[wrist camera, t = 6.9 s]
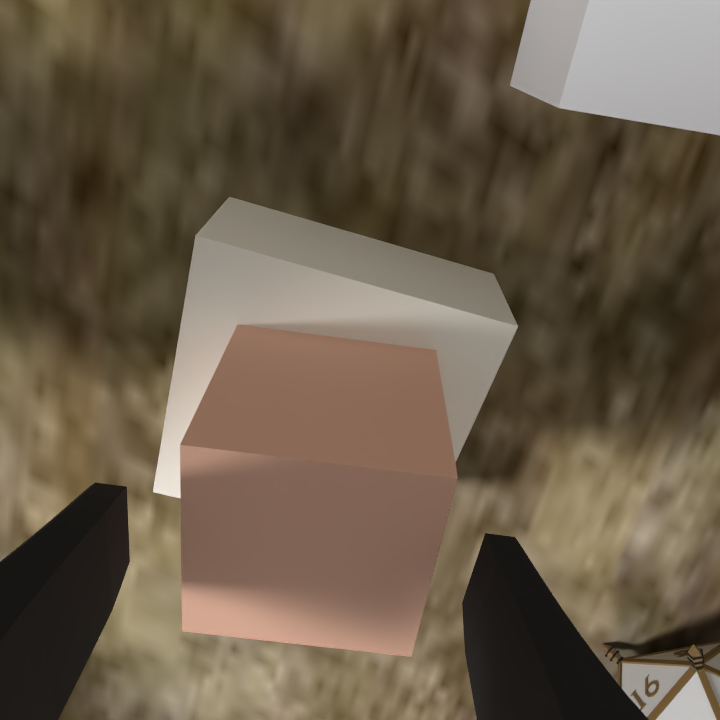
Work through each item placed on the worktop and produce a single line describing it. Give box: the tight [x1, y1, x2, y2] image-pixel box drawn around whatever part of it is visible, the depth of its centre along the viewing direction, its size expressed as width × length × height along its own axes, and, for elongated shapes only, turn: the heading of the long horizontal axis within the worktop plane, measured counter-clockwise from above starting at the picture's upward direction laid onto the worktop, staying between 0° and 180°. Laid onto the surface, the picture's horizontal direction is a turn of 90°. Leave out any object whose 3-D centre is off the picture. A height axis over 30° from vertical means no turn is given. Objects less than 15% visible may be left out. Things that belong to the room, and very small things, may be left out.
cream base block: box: [153, 197, 518, 498], centre depth 18 cm, size 8×8×4 cm
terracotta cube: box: [180, 325, 458, 657], centre depth 14 cm, size 5×5×5 cm
